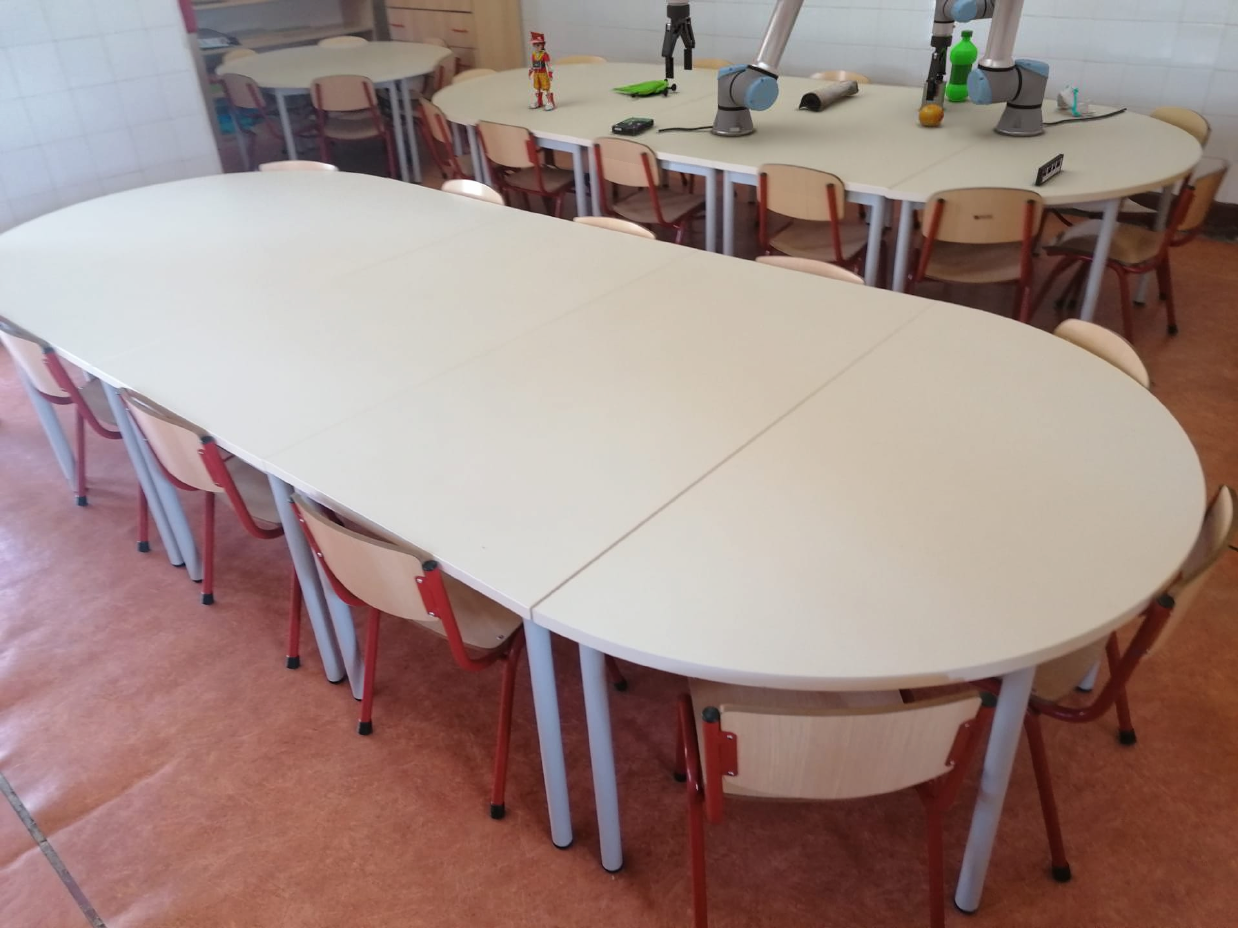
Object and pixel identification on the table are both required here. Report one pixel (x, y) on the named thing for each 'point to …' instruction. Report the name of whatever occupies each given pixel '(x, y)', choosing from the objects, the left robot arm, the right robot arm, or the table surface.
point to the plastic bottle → (961, 67)
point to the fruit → (931, 115)
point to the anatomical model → (1073, 101)
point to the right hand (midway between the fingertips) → (933, 97)
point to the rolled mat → (828, 94)
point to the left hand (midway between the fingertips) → (679, 74)
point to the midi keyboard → (1049, 169)
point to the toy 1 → (541, 71)
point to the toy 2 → (648, 88)
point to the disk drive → (632, 126)
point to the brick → (935, 94)
